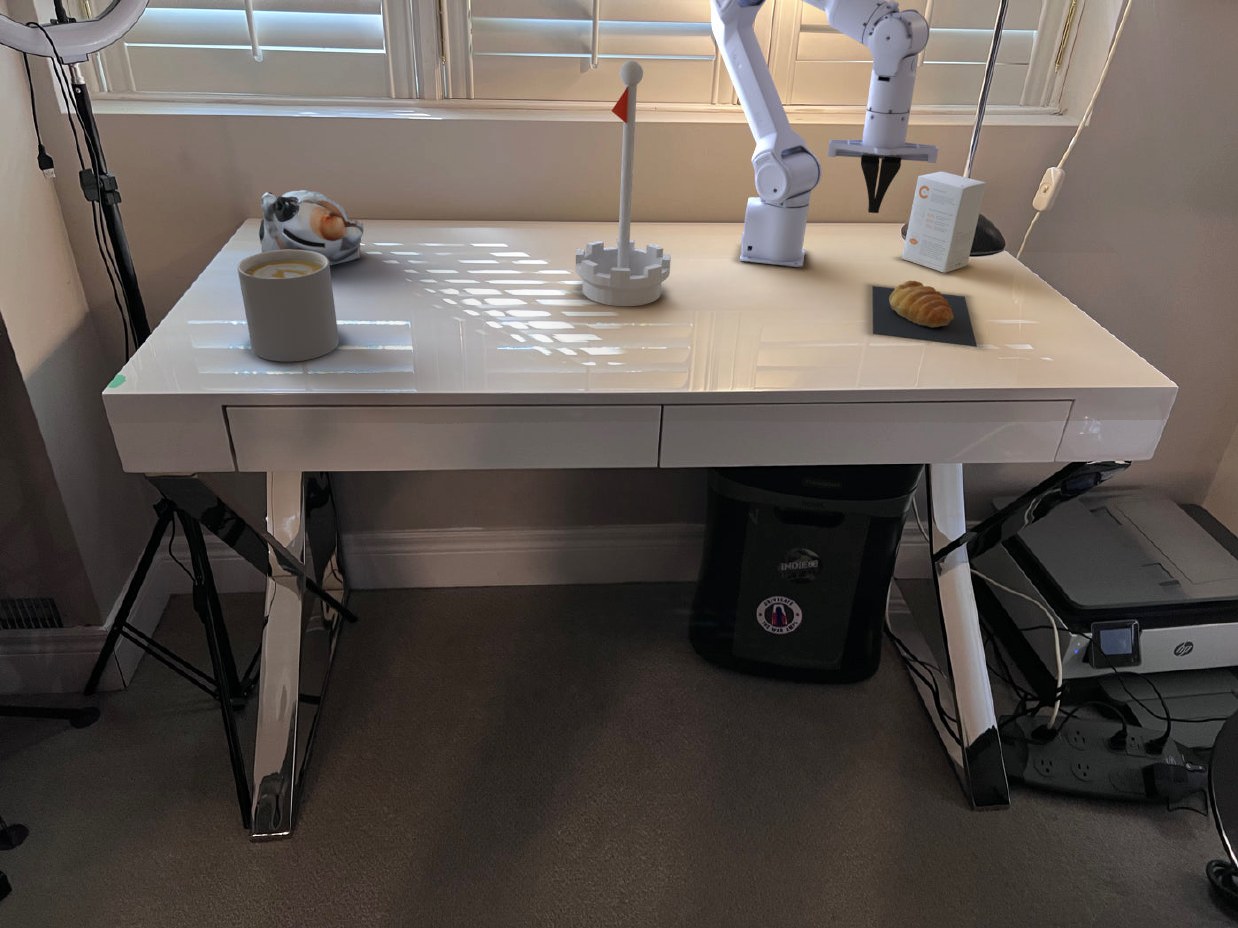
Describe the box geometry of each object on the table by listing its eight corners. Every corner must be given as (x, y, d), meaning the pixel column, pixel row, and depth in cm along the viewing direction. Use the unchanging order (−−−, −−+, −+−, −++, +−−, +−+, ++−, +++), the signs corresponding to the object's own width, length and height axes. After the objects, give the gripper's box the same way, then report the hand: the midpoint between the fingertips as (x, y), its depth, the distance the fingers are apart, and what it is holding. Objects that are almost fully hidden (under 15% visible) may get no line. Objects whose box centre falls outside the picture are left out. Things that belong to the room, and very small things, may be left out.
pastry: (964, 328, 124) (970, 301, 122) (921, 334, 122) (927, 306, 120) (921, 302, 132) (927, 276, 130) (881, 307, 130) (886, 281, 128)
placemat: (872, 334, 122) (873, 333, 122) (872, 287, 137) (872, 285, 137) (976, 347, 120) (976, 346, 119) (964, 297, 135) (964, 296, 134)
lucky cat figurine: (374, 249, 141) (381, 179, 130) (347, 305, 134) (352, 237, 123) (276, 216, 139) (274, 142, 128) (243, 271, 132) (238, 198, 121)
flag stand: (601, 269, 138) (608, 49, 123) (682, 286, 134) (700, 60, 118) (558, 296, 128) (559, 61, 112) (644, 316, 124) (658, 73, 108)
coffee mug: (336, 359, 109) (326, 277, 103) (246, 364, 107) (230, 280, 102) (342, 315, 120) (333, 239, 115) (261, 318, 118) (247, 241, 113)
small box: (967, 266, 146) (988, 182, 139) (944, 274, 142) (964, 188, 136) (923, 251, 151) (941, 170, 144) (900, 259, 148) (917, 175, 141)
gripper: (832, 112, 124) (820, 214, 131) (946, 118, 121) (927, 222, 128) (834, 104, 130) (822, 202, 137) (942, 109, 127) (925, 209, 134)
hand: (873, 211), depth 133 cm, fingers closed
